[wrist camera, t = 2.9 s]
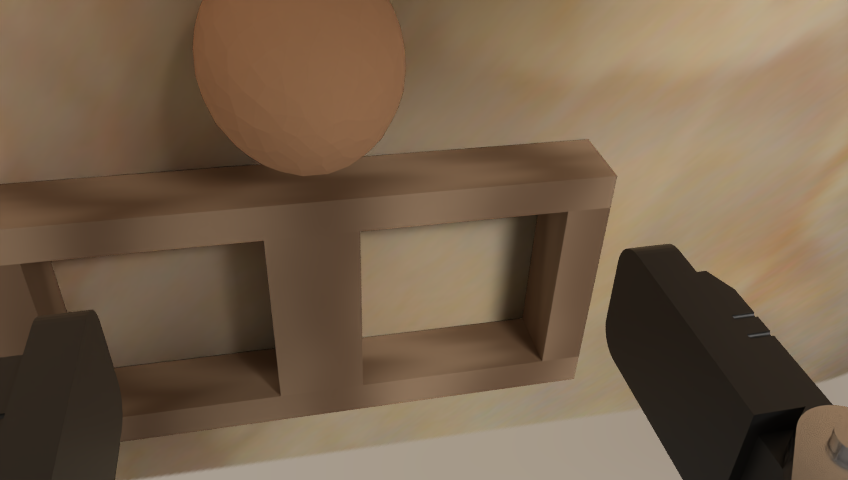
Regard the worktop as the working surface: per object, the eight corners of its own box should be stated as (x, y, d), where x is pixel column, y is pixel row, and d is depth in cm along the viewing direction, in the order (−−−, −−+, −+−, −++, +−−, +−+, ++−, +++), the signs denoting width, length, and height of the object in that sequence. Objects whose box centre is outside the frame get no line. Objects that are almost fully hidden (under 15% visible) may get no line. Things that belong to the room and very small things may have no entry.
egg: (395, 61, 24) (457, 198, 18) (234, 106, 24) (238, 262, 17) (353, -113, 21) (410, -20, 14) (166, -63, 20) (142, 54, 14)
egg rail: (51, 400, 29) (38, 452, 27) (-28, 186, 23) (-51, 234, 21) (552, 336, 33) (573, 378, 31) (588, 139, 27) (616, 176, 25)
